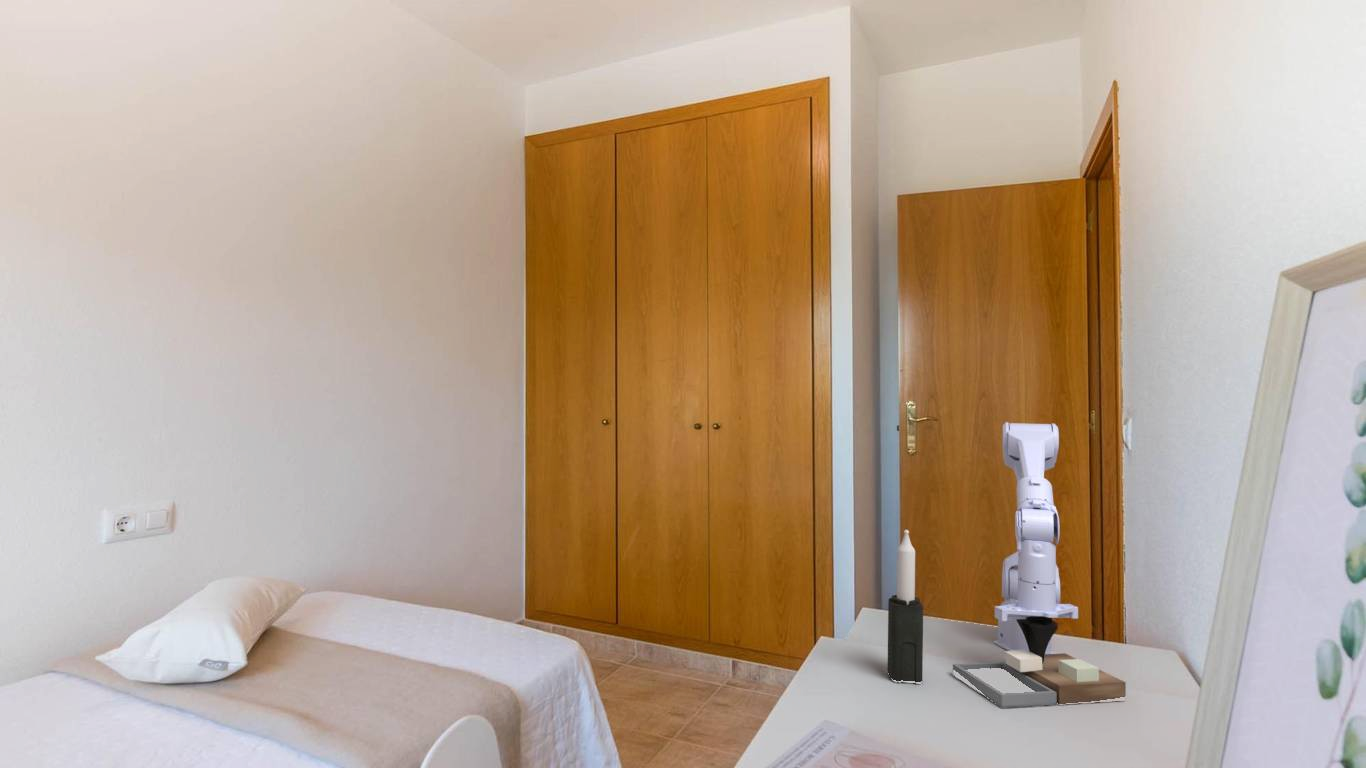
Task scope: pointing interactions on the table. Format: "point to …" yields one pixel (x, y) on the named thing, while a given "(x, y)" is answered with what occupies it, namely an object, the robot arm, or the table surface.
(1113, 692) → the walnut board
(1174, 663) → the table surface
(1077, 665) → the sage tile
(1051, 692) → the tray
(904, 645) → the candle
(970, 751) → the table surface
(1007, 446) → the robot arm
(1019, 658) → the cream tile
